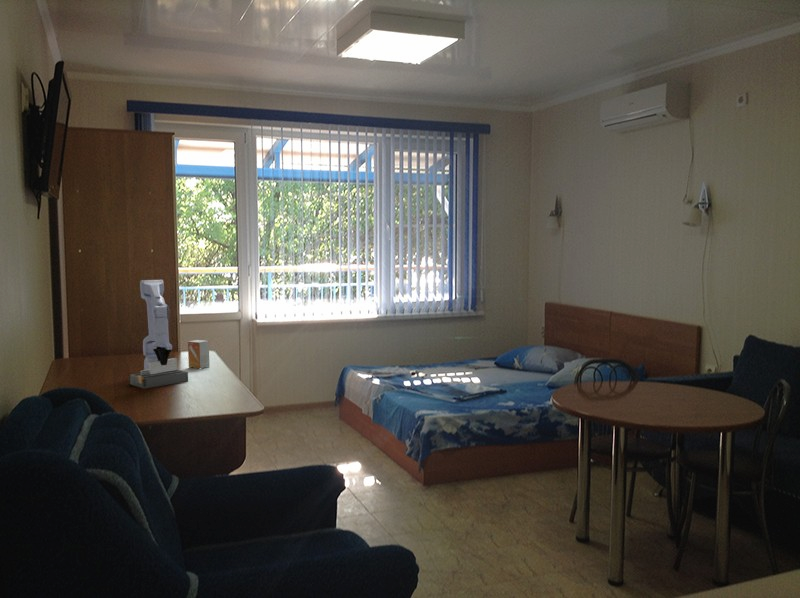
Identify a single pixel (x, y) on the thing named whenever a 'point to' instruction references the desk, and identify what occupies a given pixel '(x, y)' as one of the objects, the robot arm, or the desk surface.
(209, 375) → the desk surface
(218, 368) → the desk surface
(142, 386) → the rack
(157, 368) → the panel
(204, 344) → the small box
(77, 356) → the desk surface
